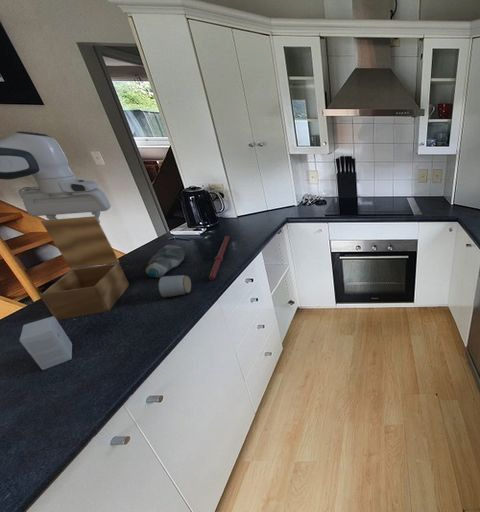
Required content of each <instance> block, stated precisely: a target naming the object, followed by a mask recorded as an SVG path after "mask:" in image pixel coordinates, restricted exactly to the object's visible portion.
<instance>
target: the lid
mask: <svg viewBox="0 0 480 512" xmlns="http://www.w3.org/2000/svg"><path fill="white" fill-rule="evenodd" d="M40 222H41V224H42V226H43V227H44V229H45V230H46V232H47V233H48V234H49V237H50V238H51V240H52V241H53V243H54V245H55V246H56V248H57V249H58V251H59V252H60V254H61V255H62V257H63V259H64V260H65V262H66V263H67V265H68V267H69V268H70V270H72V269H79V268H87V267H94V266H102V265H110V264H117V263H120V260H119V258H118V257H117V254H116V252H115V250H114V249H113V246H112V245H111V242H110V241H109V239H108V237H107V235H106V234H105V231H104V229H103V227H102V226H101V224H100V223H99V222H98V220H97V218H96V216H95V215H92V216H81V217H69V218H68V217H67V218H57V219H55V220H49V219H44V220H41V221H40Z"/></svg>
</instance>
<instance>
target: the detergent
mask: <svg viewBox="0 0 480 512" xmlns="http://www.w3.org/2000/svg"><path fill="white" fill-rule="evenodd" d="M186 254H187V250H185V249H184V247H182V246H180V245H177V244H175V243H174V244H172V243H171V244H166V245H163V246H162V247H160V248H159V249H158V250H157V252H155V254H154V255H153V256H151V258H150V259H149V260H148V266H146V268H145V270H144V271H145V273H146V274H147V276H148V277H150V278H159V279H160V278H161V277H164V275H165V274H166V273H167V272H169V271H170V270H172V269H174V268H177V267H178V266H179V265H180V264H181V263H182V262H183V261H184V260H185V256H186Z"/></svg>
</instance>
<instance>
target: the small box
mask: <svg viewBox="0 0 480 512" xmlns="http://www.w3.org/2000/svg"><path fill="white" fill-rule="evenodd" d="M18 341H19V342H20V344H21V345H22V346H23V348H24V349H25V350H26V352H27V353H28V354H29V355H30V356H31V358H32V359H33V360H34V362H35V363H36V364H37V366H38V367H39V368H40V369H41V370H42V371H44V370H47V369H50V368H52V367H54V366H55V367H56V366H57V365H58V366H59V365H60V364H62V363H66V362H68V361H70V360H72V358H73V343H72V341H71V339H70V338H69V336H68V335H67V334H66V332H65V330H64V328H63V327H62V326H61V324H60V323H59V320H56V318H55V316H53V315H52V316H49V317H46V318H42V319H39V320H36V321H32V322H28V323H26V324H22V329H21V333H20V337H19V340H18Z"/></svg>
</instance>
